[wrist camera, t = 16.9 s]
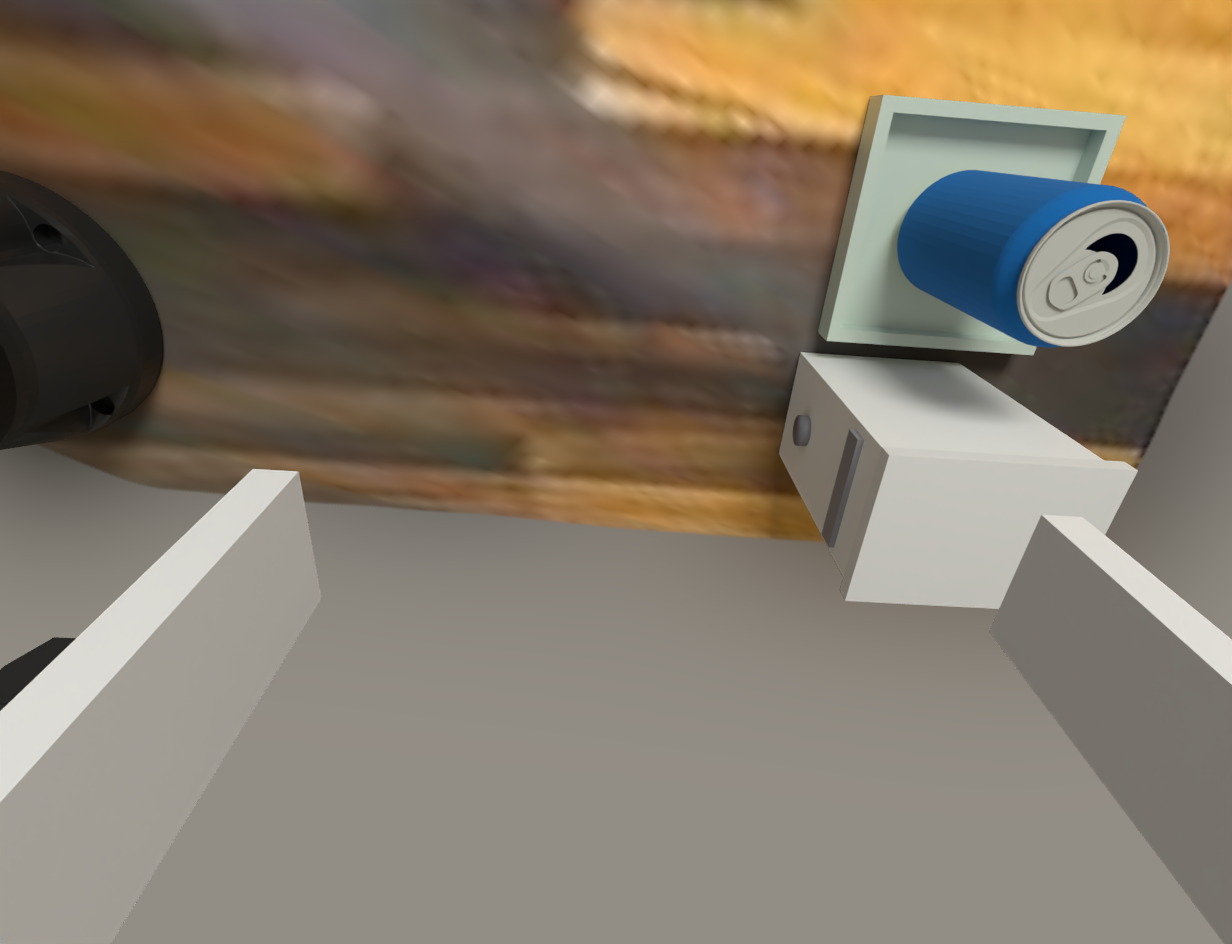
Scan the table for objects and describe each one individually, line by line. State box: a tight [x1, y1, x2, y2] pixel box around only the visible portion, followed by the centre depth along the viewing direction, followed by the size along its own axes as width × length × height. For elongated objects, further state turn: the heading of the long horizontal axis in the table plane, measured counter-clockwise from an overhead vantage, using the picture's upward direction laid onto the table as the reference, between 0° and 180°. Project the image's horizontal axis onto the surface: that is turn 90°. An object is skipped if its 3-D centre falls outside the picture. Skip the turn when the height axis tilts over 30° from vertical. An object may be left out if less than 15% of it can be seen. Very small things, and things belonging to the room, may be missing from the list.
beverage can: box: [897, 170, 1170, 347], centre depth 31 cm, size 6×6×12 cm
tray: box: [818, 95, 1126, 355], centre depth 36 cm, size 12×12×2 cm
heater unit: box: [779, 352, 1138, 609], centre depth 35 cm, size 11×8×15 cm
